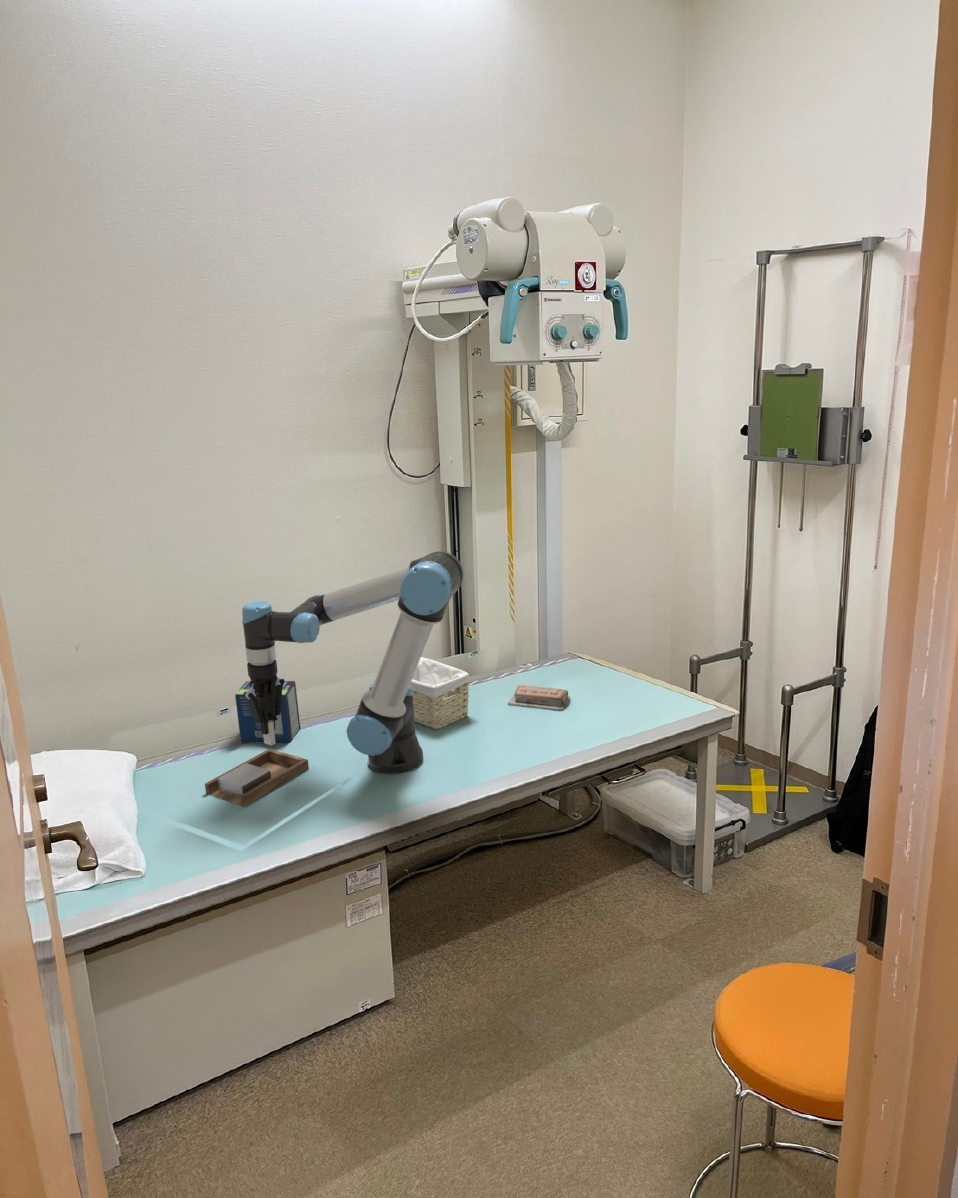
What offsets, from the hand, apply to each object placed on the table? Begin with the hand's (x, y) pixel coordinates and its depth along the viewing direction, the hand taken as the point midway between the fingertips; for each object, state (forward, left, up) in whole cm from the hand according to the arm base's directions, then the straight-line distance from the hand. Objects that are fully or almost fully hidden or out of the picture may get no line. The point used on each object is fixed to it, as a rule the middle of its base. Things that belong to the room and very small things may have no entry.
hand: (269, 743), depth 246 cm
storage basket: (-13, -53, -10) cm, 56 cm away
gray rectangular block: (0, +10, -8) cm, 13 cm away
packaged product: (-39, -77, -10) cm, 87 cm away
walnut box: (0, +6, -10) cm, 12 cm away
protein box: (+20, -19, -10) cm, 29 cm away
